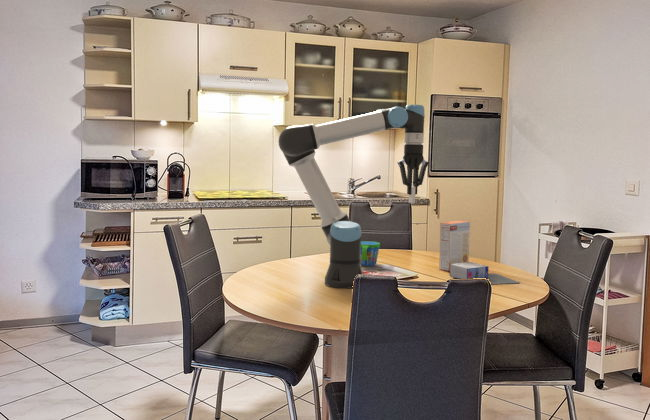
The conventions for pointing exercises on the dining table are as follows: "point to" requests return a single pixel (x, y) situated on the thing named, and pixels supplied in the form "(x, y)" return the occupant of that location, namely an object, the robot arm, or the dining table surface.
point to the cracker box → (454, 243)
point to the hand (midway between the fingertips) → (411, 202)
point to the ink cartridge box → (468, 270)
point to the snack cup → (369, 253)
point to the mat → (500, 279)
